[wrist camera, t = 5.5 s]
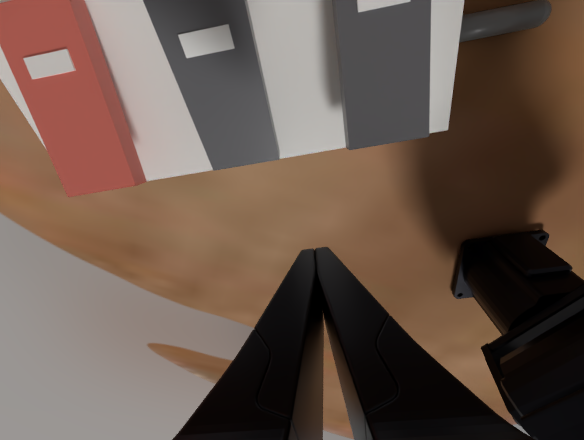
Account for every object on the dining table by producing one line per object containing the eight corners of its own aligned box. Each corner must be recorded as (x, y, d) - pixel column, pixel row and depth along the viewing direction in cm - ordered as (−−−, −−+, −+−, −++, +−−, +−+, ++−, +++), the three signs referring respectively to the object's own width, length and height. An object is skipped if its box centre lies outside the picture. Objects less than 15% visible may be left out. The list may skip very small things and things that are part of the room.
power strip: (516, 102, 17) (557, 111, 14) (103, 174, 19) (75, 193, 17) (569, -111, 12) (642, -153, 10) (14, 18, 14) (-45, 10, 12)
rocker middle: (279, 150, 15) (279, 160, 14) (216, 161, 15) (213, 171, 14) (236, -52, 10) (232, -55, 9) (141, -30, 10) (129, -31, 9)
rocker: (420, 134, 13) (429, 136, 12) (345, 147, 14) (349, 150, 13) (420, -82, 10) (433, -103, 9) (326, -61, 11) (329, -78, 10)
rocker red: (146, 181, 14) (135, 185, 13) (83, 192, 15) (66, 197, 13) (83, -2, 12) (63, -14, 11) (7, 16, 12) (-20, 6, 11)
